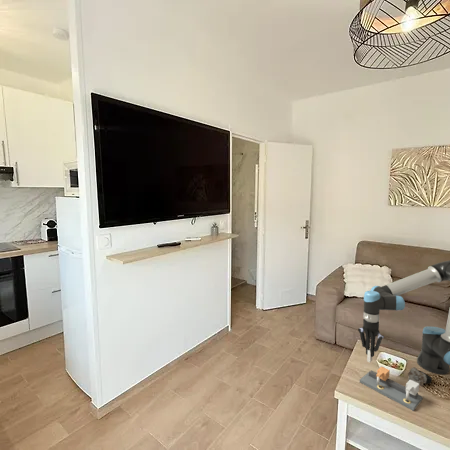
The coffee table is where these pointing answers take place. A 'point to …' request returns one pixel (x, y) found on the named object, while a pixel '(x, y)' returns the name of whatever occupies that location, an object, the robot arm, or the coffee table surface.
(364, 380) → the plate
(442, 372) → the robot arm
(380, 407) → the coffee table surface
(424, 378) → the grey rock
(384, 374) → the sliding leg
